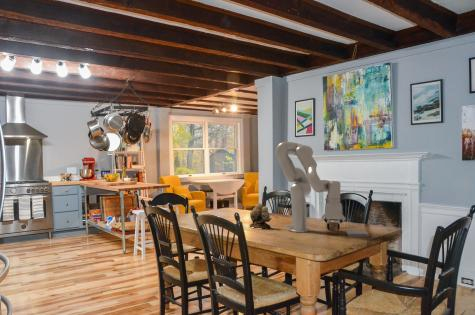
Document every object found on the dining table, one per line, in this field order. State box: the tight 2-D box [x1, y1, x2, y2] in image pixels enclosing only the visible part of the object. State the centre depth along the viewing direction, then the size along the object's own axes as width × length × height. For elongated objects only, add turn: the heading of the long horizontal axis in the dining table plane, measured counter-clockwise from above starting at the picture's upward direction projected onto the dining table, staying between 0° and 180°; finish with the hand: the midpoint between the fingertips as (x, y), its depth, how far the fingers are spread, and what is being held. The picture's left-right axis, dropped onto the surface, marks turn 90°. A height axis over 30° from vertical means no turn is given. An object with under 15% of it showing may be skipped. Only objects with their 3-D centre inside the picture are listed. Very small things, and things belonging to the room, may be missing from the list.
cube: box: [328, 221, 339, 233], centre depth 232 cm, size 5×5×5 cm
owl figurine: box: [248, 203, 272, 229], centre depth 260 cm, size 18×12×17 cm, turn 49°
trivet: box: [345, 230, 370, 238], centre depth 228 cm, size 12×12×2 cm
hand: (333, 229), depth 232 cm, fingers closed on cube, 5 cm apart
